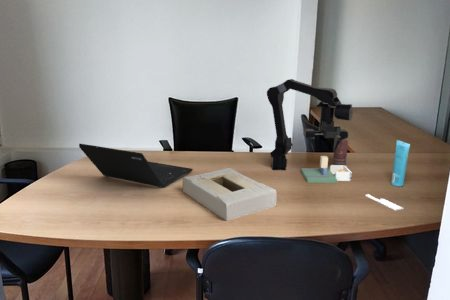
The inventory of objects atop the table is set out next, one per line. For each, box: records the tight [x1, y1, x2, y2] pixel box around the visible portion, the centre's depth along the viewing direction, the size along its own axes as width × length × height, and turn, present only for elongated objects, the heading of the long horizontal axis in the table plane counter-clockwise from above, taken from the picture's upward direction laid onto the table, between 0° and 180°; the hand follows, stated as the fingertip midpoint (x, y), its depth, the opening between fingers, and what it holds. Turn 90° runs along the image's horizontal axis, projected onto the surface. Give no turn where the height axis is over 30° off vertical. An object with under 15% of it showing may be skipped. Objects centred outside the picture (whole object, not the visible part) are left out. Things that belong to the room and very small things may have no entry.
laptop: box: [78, 143, 194, 188], centre depth 170 cm, size 33×38×19 cm
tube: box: [391, 139, 411, 187], centre depth 165 cm, size 7×5×19 cm, turn 26°
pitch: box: [300, 167, 338, 184], centre depth 176 cm, size 13×15×2 cm
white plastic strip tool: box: [365, 193, 404, 211], centre depth 150 cm, size 5×15×1 cm, turn 25°
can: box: [332, 138, 350, 166], centre depth 190 cm, size 6×6×14 cm
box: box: [182, 167, 278, 222], centre depth 151 cm, size 23×8×32 cm
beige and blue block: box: [319, 155, 329, 175], centre depth 175 cm, size 3×7×8 cm, turn 1°
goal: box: [329, 164, 353, 182], centre depth 176 cm, size 7×10×4 cm
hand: (324, 151), depth 173 cm, fingers open, 9 cm apart
